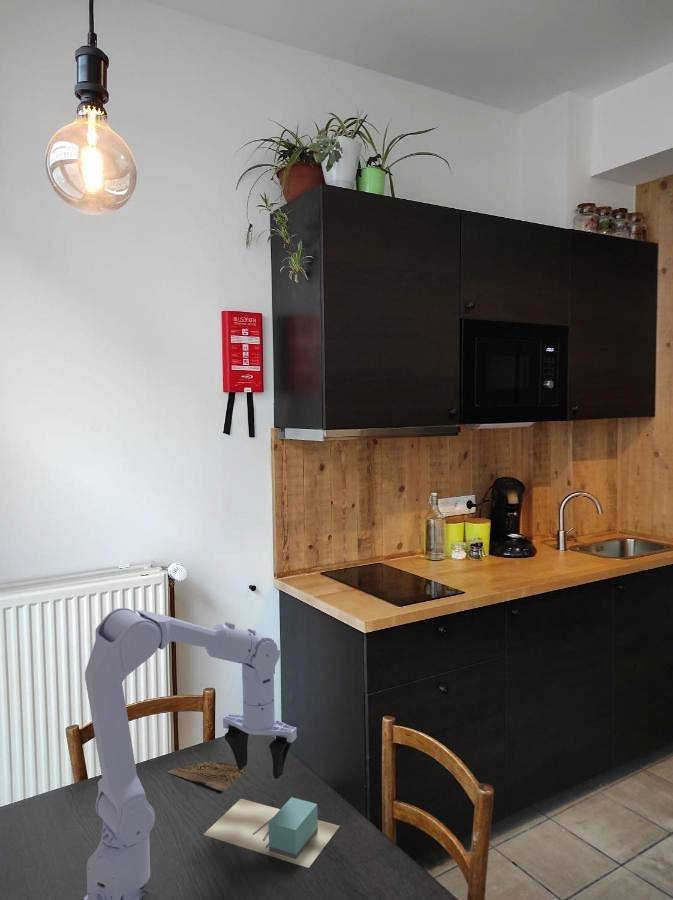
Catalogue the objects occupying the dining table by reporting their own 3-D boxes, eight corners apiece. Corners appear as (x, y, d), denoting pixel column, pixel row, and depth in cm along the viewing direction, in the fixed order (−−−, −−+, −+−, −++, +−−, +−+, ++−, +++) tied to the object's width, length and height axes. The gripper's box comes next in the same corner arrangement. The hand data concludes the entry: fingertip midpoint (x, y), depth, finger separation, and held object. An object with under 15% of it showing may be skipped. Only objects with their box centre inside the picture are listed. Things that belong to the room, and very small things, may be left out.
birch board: (308, 876, 109) (308, 867, 109) (203, 842, 118) (203, 834, 118) (339, 834, 120) (339, 825, 120) (241, 805, 129) (240, 798, 128)
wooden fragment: (293, 775, 140) (293, 770, 140) (272, 804, 129) (272, 799, 129) (185, 757, 148) (184, 753, 148) (157, 784, 137) (157, 779, 137)
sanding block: (296, 859, 111) (295, 830, 111) (269, 850, 113) (268, 822, 113) (317, 831, 118) (317, 804, 118) (292, 824, 120) (291, 797, 120)
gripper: (303, 697, 123) (305, 768, 123) (236, 684, 129) (238, 753, 129) (285, 713, 116) (286, 788, 117) (215, 699, 122) (217, 771, 123)
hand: (260, 771), depth 123 cm, fingers open, 7 cm apart
